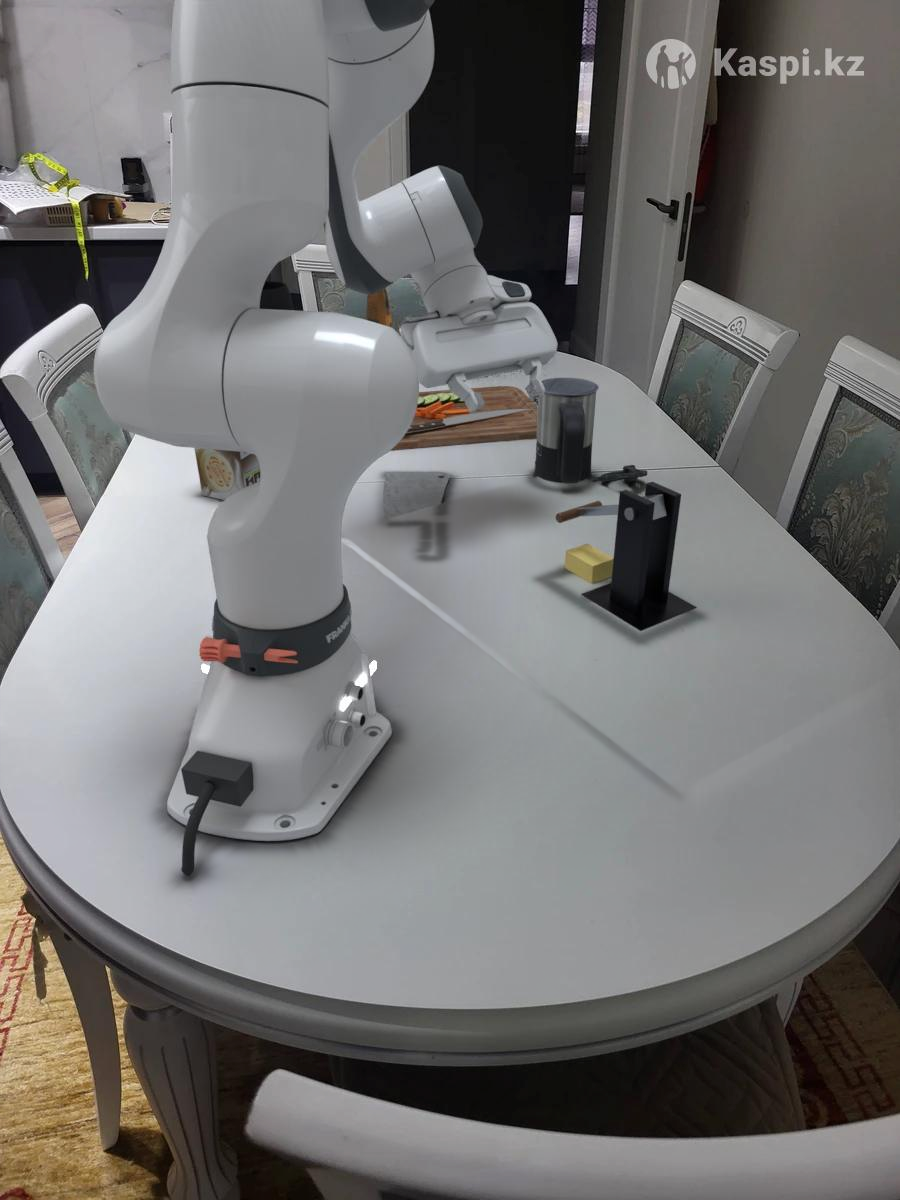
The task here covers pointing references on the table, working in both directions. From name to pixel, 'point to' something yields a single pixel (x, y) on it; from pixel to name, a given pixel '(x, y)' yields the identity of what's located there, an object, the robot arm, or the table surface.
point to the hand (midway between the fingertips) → (508, 402)
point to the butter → (589, 563)
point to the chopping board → (471, 418)
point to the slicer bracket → (643, 562)
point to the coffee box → (226, 471)
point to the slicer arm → (609, 509)
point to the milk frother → (570, 433)
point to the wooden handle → (379, 308)
